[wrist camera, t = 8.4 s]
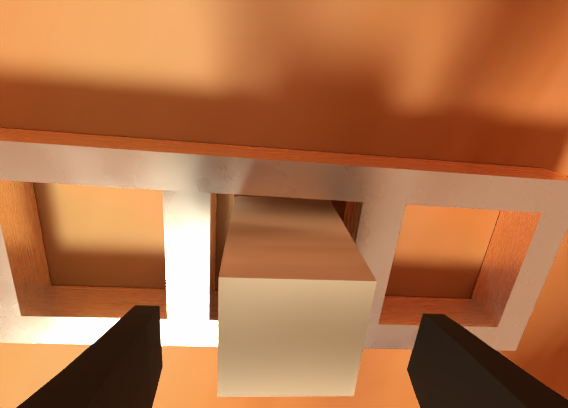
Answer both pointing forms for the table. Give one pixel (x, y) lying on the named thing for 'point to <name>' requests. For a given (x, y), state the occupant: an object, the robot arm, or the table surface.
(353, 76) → the table surface
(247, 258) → the birch peg
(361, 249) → the tan slotted board
